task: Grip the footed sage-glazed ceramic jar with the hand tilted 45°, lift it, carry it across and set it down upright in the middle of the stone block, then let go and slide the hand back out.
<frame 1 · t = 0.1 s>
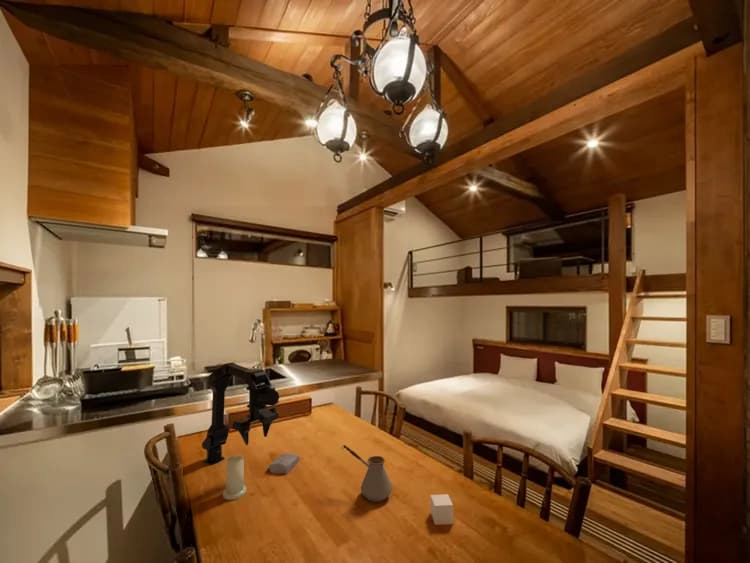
hand: (256, 440, 139), 15 cm above the table, tool pointing down, fingers open, 9 cm apart
coffee pot: (365, 492, 127), on the table
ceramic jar: (234, 493, 126), on the table
stone block: (283, 467, 147), on the table
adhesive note: (441, 519, 112), on the table
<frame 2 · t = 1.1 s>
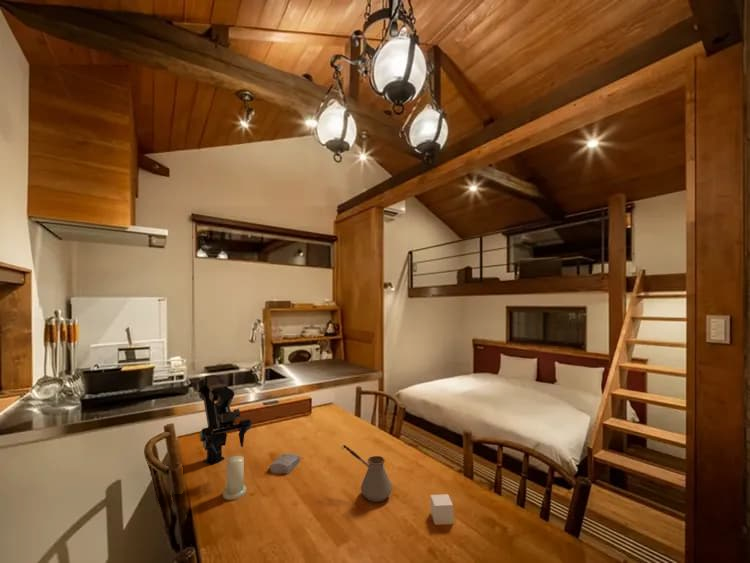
hand: (230, 449, 133), 13 cm above the table, tool tilted 45°, fingers open, 9 cm apart
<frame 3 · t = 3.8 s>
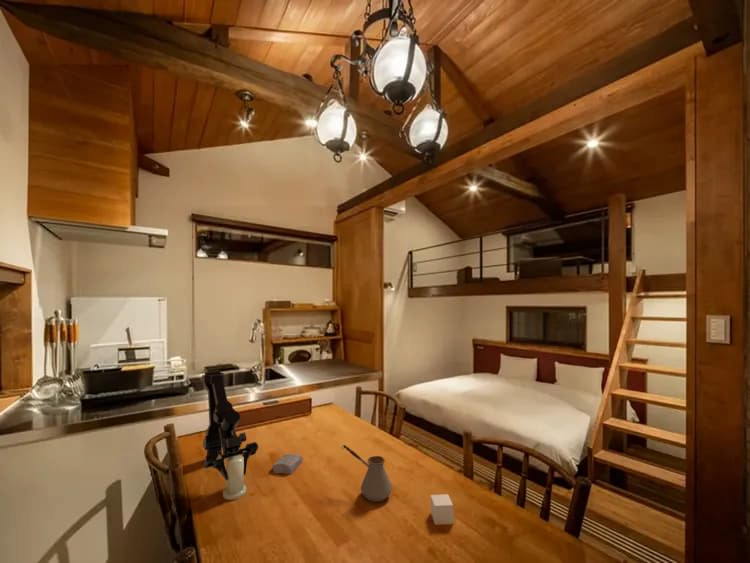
hand: (236, 477, 125), 7 cm above the table, tool tilted 45°, fingers closed on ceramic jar, 6 cm apart
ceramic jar: (234, 493, 126), on the table, touching gripper
stone block: (286, 467, 146), on the table
everything else where it was.
when the fingers open (11 cm above the table, at t = 9.3 s): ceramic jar moves 2 cm, point 4 cm above the table.
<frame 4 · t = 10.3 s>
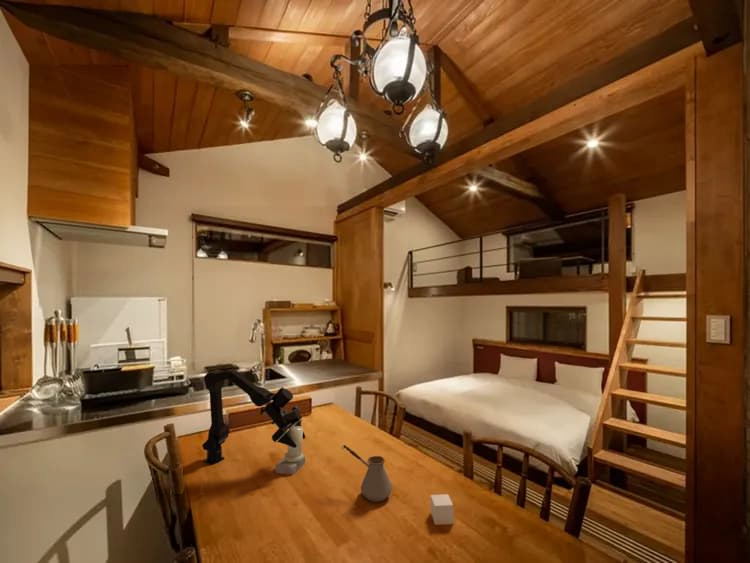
hand: (300, 442, 145), 11 cm above the table, tool tilted 45°, fingers open, 9 cm apart
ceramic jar: (293, 458, 146), point 4 cm above the table, touching gripper
stone block: (289, 468, 146), on the table
everything else where it was.
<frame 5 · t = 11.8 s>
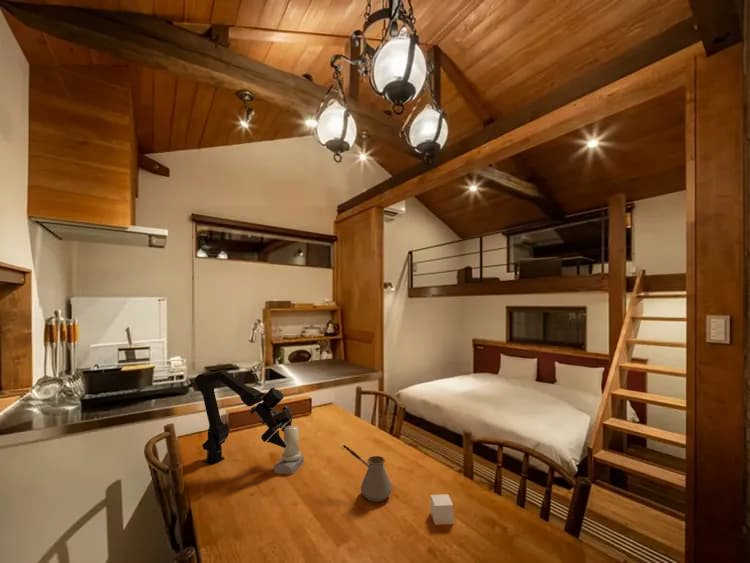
hand: (290, 442, 146), 11 cm above the table, tool tilted 45°, fingers open, 9 cm apart
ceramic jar: (291, 457, 147), point 4 cm above the table
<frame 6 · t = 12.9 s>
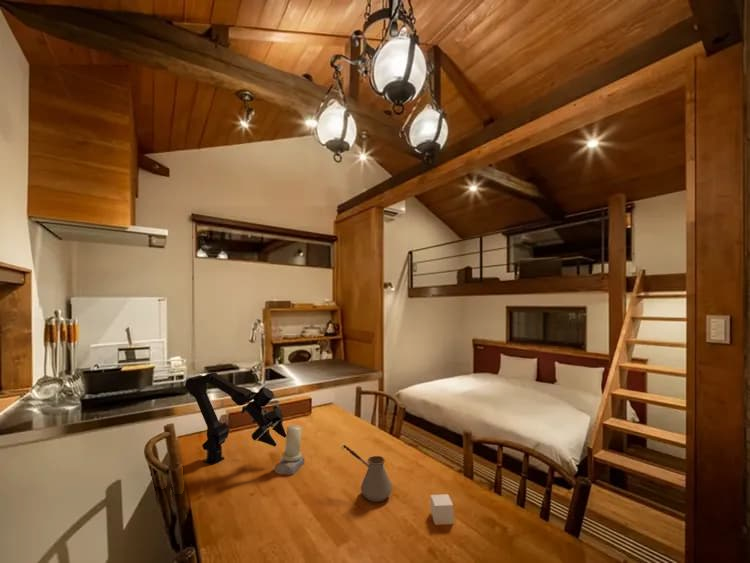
hand: (280, 441, 147), 11 cm above the table, tool tilted 45°, fingers open, 9 cm apart
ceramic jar: (291, 457, 147), point 4 cm above the table, tilted 5°, touching stone block
stone block: (288, 469, 146), on the table, touching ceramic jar
everything else where it was.
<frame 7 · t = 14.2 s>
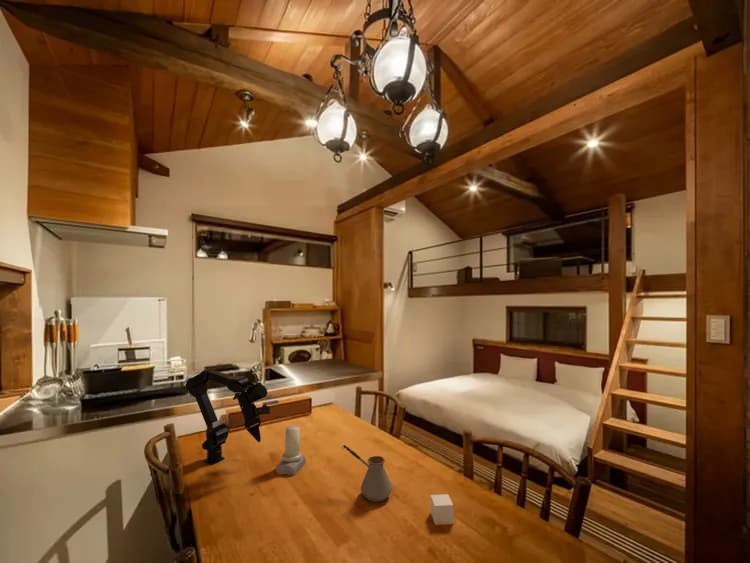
hand: (259, 440, 145), 12 cm above the table, tool tilted 25°, fingers open, 9 cm apart
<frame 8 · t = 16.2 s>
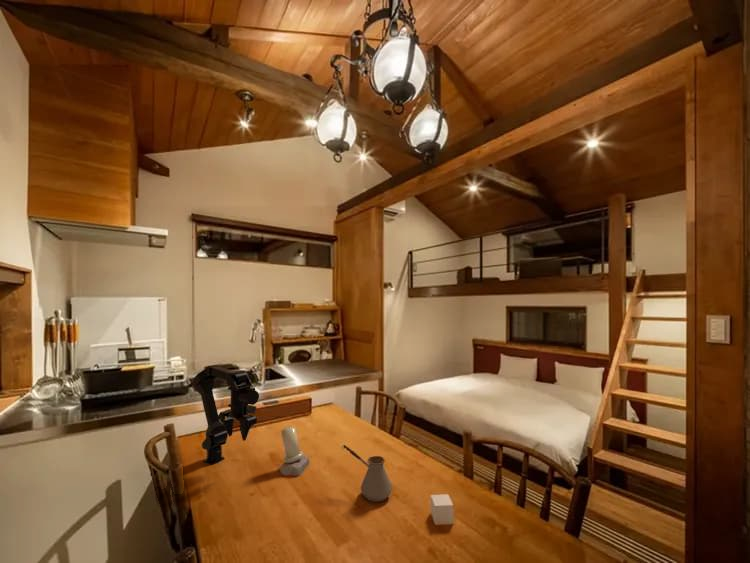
hand: (237, 438, 145), 13 cm above the table, tool pointing down, fingers open, 9 cm apart
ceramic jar: (294, 458, 145), point 4 cm above the table, tilted 15°, touching stone block
stone block: (294, 469, 145), on the table, touching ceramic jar
everything else where it was.
at the end: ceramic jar inside the target area on the stone block (0.2 cm from its centre), point 4.4 cm above the stone block's base; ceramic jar tilted 4°; the gripper is holding nothing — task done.
